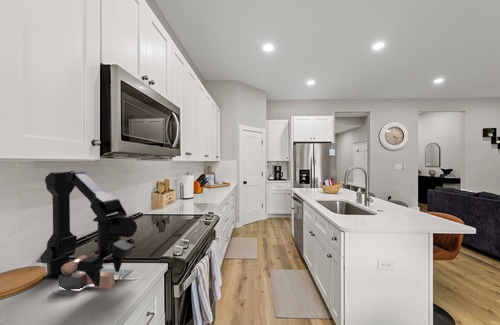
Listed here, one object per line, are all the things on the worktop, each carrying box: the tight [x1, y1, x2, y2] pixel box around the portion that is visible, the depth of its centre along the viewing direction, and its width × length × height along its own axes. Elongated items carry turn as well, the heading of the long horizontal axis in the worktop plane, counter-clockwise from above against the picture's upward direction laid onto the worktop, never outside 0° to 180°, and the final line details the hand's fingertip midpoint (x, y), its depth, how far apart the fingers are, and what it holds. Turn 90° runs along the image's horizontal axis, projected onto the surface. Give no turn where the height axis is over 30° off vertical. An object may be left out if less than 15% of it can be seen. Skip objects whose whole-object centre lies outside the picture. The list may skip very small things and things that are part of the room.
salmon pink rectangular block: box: [86, 272, 116, 290], centre depth 76 cm, size 10×2×4 cm, turn 83°
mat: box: [100, 267, 134, 282], centre depth 83 cm, size 13×7×1 cm, turn 84°
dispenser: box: [57, 254, 88, 290], centre depth 77 cm, size 8×8×9 cm
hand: (107, 278), depth 76 cm, fingers open, 9 cm apart
